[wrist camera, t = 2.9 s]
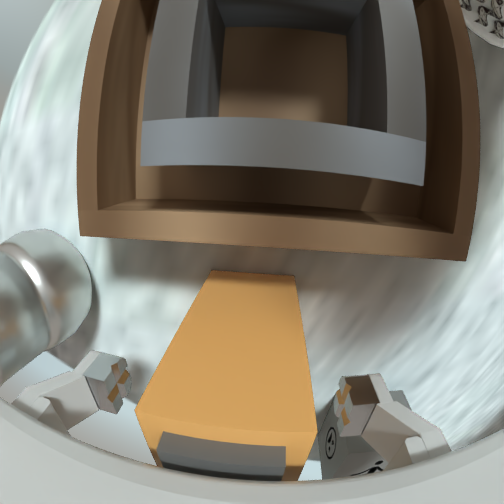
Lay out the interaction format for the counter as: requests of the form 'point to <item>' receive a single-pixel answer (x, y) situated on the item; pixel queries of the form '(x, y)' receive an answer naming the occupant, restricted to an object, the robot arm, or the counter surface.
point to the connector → (234, 384)
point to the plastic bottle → (39, 296)
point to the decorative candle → (485, 19)
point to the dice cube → (349, 448)
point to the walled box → (281, 125)
